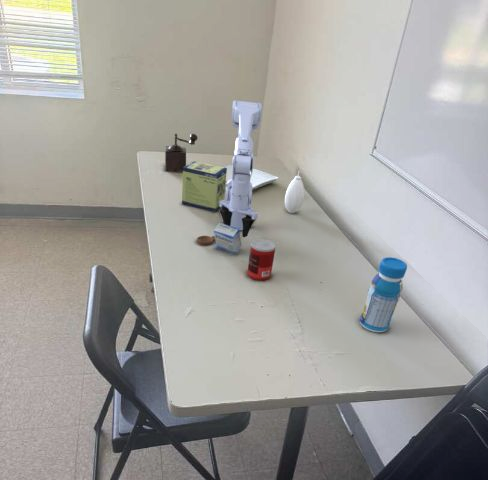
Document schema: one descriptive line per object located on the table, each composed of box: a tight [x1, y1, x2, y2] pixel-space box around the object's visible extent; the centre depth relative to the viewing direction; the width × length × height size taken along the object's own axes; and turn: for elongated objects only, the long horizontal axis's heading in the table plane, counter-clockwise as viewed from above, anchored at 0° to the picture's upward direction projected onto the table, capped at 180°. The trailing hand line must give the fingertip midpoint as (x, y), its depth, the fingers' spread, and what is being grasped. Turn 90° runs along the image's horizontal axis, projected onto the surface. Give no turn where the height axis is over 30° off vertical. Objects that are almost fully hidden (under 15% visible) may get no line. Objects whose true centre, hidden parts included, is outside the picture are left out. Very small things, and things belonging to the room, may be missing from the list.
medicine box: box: [213, 222, 243, 255], centre depth 151 cm, size 8×4×9 cm, turn 63°
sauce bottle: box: [284, 171, 305, 214], centre depth 186 cm, size 8×8×18 cm
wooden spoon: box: [196, 235, 215, 246], centre depth 161 cm, size 15×5×1 cm, turn 135°
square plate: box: [223, 164, 280, 191], centre depth 215 cm, size 27×27×4 cm
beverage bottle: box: [359, 256, 408, 333], centre depth 121 cm, size 8×8×20 cm
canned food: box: [247, 238, 277, 282], centre depth 140 cm, size 8×8×11 cm
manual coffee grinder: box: [164, 133, 199, 173], centre depth 217 cm, size 16×11×18 cm
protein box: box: [181, 161, 227, 213], centre depth 183 cm, size 10×16×16 cm
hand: (235, 232), depth 151 cm, fingers open, 7 cm apart
